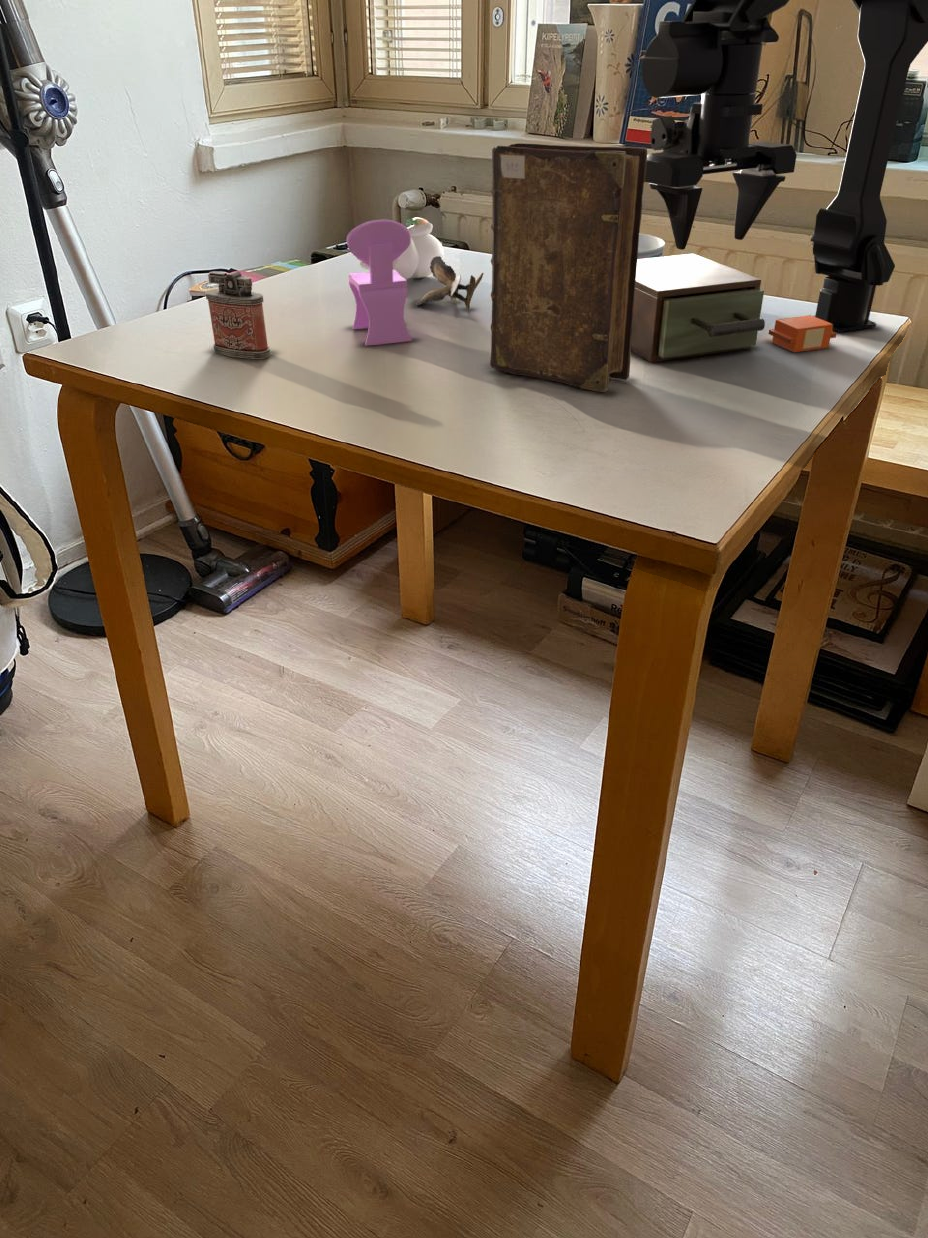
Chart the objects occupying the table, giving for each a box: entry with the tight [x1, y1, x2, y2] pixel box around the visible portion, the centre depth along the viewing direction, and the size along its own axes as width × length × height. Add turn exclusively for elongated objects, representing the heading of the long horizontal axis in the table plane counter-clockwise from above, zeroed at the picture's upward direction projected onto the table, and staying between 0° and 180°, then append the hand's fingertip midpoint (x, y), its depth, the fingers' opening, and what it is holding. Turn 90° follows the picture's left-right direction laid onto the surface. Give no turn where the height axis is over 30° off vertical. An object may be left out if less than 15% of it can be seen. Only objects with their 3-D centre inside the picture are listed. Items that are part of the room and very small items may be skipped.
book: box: [489, 142, 648, 393], centre depth 107 cm, size 17×7×25 cm, turn 54°
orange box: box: [767, 314, 837, 353], centre depth 121 cm, size 5×7×3 cm
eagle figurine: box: [415, 256, 485, 311], centre depth 138 cm, size 8×7×9 cm
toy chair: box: [346, 218, 413, 347], centre depth 124 cm, size 8×9×15 cm
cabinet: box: [631, 253, 762, 363], centre depth 123 cm, size 16×15×9 cm
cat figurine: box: [359, 216, 445, 281], centre depth 151 cm, size 10×8×15 cm
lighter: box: [204, 270, 271, 360], centre depth 119 cm, size 8×3×10 cm, turn 65°
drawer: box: [658, 288, 766, 358], centre depth 119 cm, size 20×13×7 cm
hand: (710, 243), depth 111 cm, fingers open, 9 cm apart
